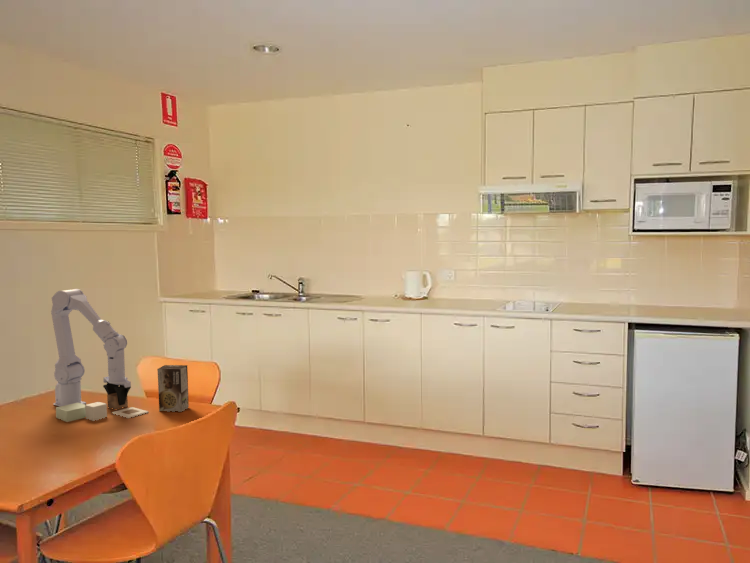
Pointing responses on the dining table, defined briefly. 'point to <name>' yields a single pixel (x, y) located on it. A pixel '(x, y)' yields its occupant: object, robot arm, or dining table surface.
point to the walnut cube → (115, 401)
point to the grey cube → (96, 411)
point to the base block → (71, 412)
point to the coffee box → (173, 388)
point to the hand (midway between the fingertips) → (117, 403)
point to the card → (130, 412)
